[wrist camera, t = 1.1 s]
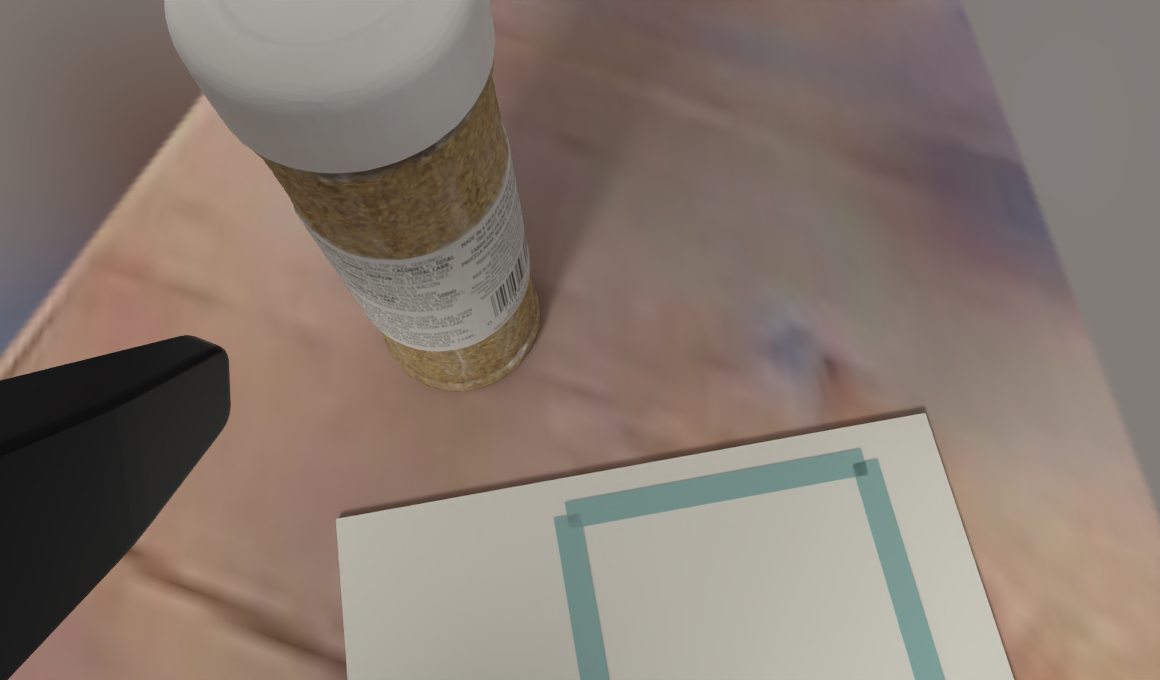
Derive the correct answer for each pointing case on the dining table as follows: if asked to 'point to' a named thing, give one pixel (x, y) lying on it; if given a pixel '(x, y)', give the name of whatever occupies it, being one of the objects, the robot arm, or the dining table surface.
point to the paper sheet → (683, 572)
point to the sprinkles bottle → (385, 162)
